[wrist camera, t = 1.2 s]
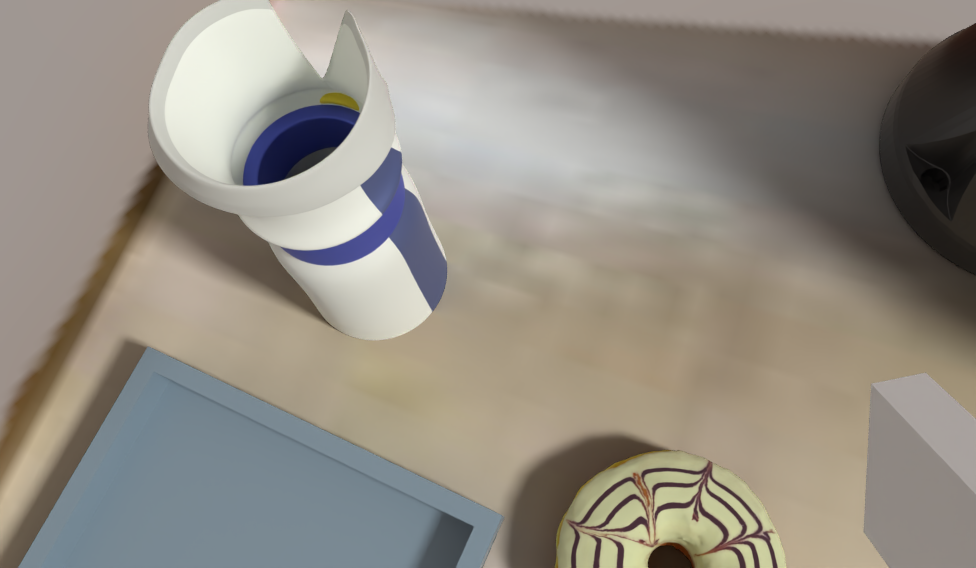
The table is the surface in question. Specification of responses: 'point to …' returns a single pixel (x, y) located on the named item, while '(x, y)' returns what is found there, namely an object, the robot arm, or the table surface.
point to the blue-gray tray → (244, 491)
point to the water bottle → (300, 162)
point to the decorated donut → (667, 516)
